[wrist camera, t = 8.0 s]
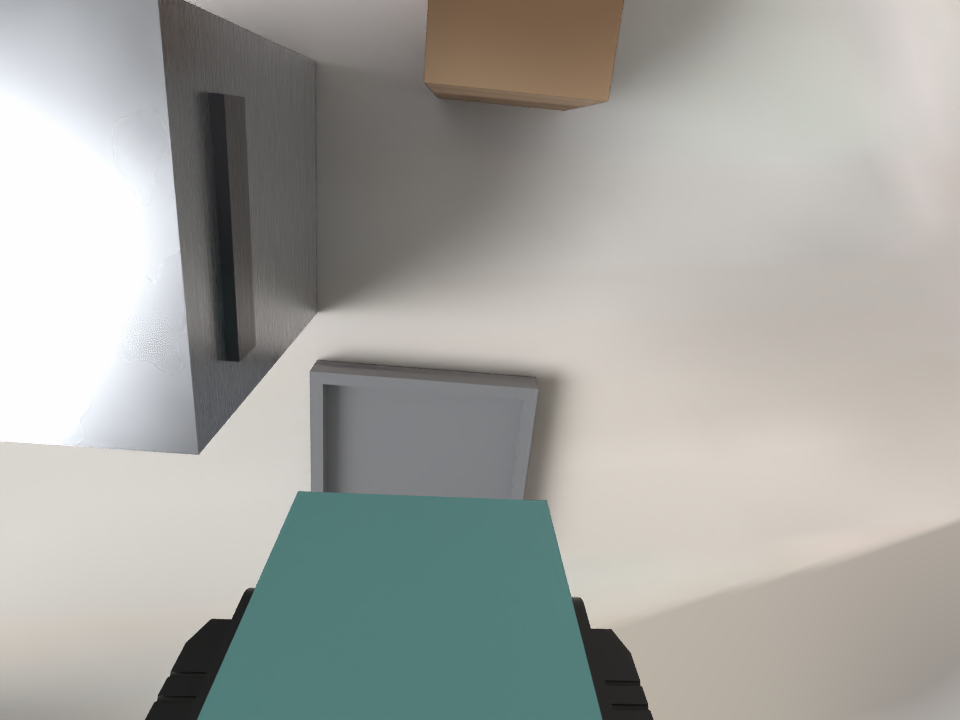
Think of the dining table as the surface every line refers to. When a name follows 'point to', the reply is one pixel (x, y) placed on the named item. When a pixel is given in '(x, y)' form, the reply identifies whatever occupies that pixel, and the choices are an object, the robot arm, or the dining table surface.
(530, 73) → the walnut block
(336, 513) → the teal block
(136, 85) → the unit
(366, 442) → the tray
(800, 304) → the dining table surface
